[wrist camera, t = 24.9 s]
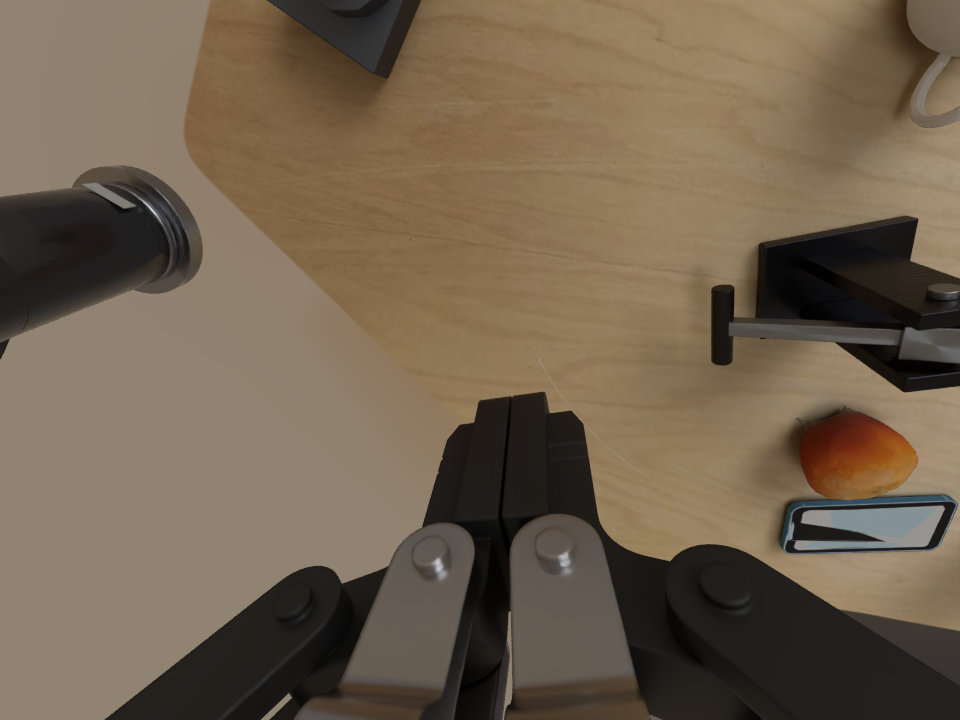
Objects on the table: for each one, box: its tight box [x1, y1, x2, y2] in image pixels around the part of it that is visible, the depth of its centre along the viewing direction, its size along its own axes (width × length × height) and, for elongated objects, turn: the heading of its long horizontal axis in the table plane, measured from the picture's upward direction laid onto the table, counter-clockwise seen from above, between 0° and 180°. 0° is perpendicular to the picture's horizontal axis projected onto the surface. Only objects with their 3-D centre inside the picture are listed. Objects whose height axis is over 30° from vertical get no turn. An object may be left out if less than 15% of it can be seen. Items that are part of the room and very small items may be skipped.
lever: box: [711, 285, 960, 365], centre depth 29 cm, size 13×6×2 cm, turn 103°
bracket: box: [756, 216, 960, 392], centre depth 30 cm, size 10×8×13 cm
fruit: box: [796, 406, 918, 501], centre depth 39 cm, size 8×8×8 cm
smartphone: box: [780, 495, 958, 554], centre depth 46 cm, size 7×1×15 cm
